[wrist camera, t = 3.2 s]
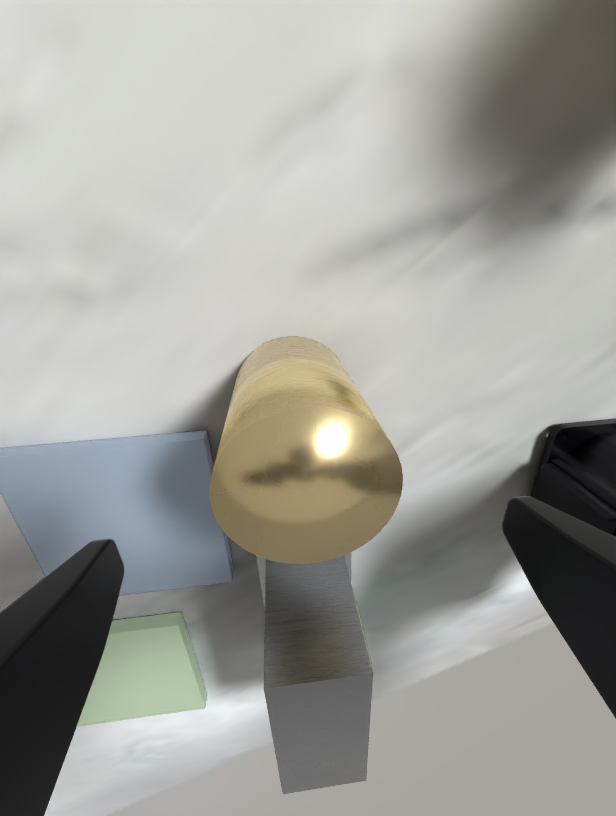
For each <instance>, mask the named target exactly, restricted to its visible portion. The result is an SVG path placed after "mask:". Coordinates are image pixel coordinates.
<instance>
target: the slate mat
mask: <svg viewBox="0 0 616 816" xmlns="http://www.w3.org/2000/svg"><path fill="white" fill-rule="evenodd" d="M213 468H214V465H213V460H212V455H211V450H210V445H209V440H208V435H207V430H204V431H193V432H181V433H170V434H158V435H146V436H135V437H123V438H112V439H100V440H89V441H77V442H66V443H54V444H42V445H31V446H19V447H8V448H0V493H1V495H2V497H3V498H4V500H5V502H6V504H7V506H8V508H9V510H10V511H11V513H12V515H13V517H14V519H15V521H16V523H17V524H18V526H19V528H20V530H21V532H22V534H23V536H24V537H25V539H26V541H27V543H28V545H29V547H30V549H31V551H32V552H33V554H34V556H35V558H36V560H37V562H38V564H39V565H40V567H41V569H42V571H43V573H44V575H45V577H46V576H47V575H49V574H50V573H51V572H52V571H54V570H55V569H56V568H57V567H59V566H60V565H61V564H63V563H64V562H65V561H66V560H68V559H69V558H70V557H71V556H73V555H74V554H75V553H76V552H78V551H79V550H80V549H82V548H83V547H84V546H85V545H87V544H88V543H89V542H91V541H94V540H101V539H112V540H114V541H115V543H116V546H117V548H118V551H119V553H120V556H121V559H122V561H123V564H124V577H123V581H122V585H121V589H120V593H119V596H120V595H128V594H136V593H145V592H153V591H162V590H170V589H179V588H187V587H196V586H204V585H213V584H221V583H229V582H233V573H234V568H233V562H232V557H231V552H230V547H229V542H228V537H227V535H226V534H225V533H224V531H223V530H222V529H221V527H220V526H219V524H218V522H217V520H216V518H215V516H214V514H213V510H212V507H211V502H210V481H211V477H212V472H213Z"/></svg>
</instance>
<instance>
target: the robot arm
mask: <svg viewBox="0 0 616 816" xmlns="http://www.w3.org/2000/svg"><path fill="white" fill-rule="evenodd" d="M561 434H562V435H561ZM560 435H561V436H560ZM502 529H503V532H504V535H505V537H506V539H507V541H508V543H509V545H510V546H511V548H512V550H513V552H514V554H515V556H516V558H517V560H518V562H519V564H520V565H521V567H522V569H523V571H524V573H525V575H526V577H527V579H528V581H529V583H530V584H531V586H532V588H533V590H534V592H535V593H536V595H537V597H538V599H539V600H540V602H541V604H542V605H543V607H544V608H545V610H546V611H547V613H548V615H549V616H550V618H551V619H552V621H553V622H554V624H555V625H556V627H557V628H558V630H559V631H560V633H561V635H562V636H563V638H564V639H565V641H566V642H567V644H568V645H569V647H570V648H571V650H572V651H573V653H574V655H575V656H576V658H577V659H578V661H579V662H580V664H581V666H582V667H583V669H584V670H585V672H586V673H587V675H588V676H589V678H590V679H591V681H592V682H593V684H594V686H595V687H596V689H597V690H598V691H599V693H600V695H601V696H602V698H603V699H604V701H605V703H606V704H607V706H608V707H609V709H610V710H611V712H612V713H613V715H614V716H615V718H616V419H608V420H597V421H586V422H575V423H564V424H558V425H556V426H554V427H553V428H552V429H551V431H550V433H549V435H548V439H547V442H546V446H545V449H544V452H543V456H542V459H541V463H540V466H539V469H538V473H537V476H536V480H535V483H534V486H533V490H532V493H531V497H530V496H519V497H512V498H510V499H509V501H508V503H507V507H506V511H505V514H504V518H503V522H502ZM123 577H124V564H123V561H122V559H121V556H120V553H119V551H118V548H117V546H116V543H115V541H114V540H112V539H101V540H94V541H91V542H89V543H88V544H87V545H85V546H84V547H83V548H82V549H80V550H79V551H78V552H76V553H75V554H74V555H73V556H71V557H70V558H69V559H68V560H66V561H65V562H64V563H63V564H61V565H60V566H59V567H57V568H56V569H55V570H54V571H52V572H51V573H50V574H49V575H47V576H46V577H45V578H44V579H42V580H41V581H40V582H39V583H37V584H36V585H35V586H33V587H32V588H31V589H30V590H28V591H27V592H26V593H25V594H23V595H22V596H21V597H20V598H18V599H17V600H16V601H14V602H13V603H12V604H11V605H9V606H8V607H7V608H6V609H4V610H3V611H2V612H1V613H0V816H44V814H45V811H46V809H47V806H48V803H49V801H50V798H51V795H52V792H53V790H54V787H55V784H56V781H57V779H58V776H59V773H60V770H61V768H62V765H63V762H64V760H65V757H66V754H67V751H68V749H69V746H70V743H71V740H72V738H73V735H74V732H75V730H76V727H77V724H78V721H79V719H80V716H81V713H82V710H83V708H84V705H85V702H86V700H87V697H88V694H89V691H90V689H91V686H92V683H93V680H94V678H95V675H96V672H97V670H98V667H99V664H100V661H101V658H102V655H103V652H104V649H105V645H106V642H107V639H108V635H109V631H110V627H111V623H112V619H113V616H114V612H115V608H116V604H117V600H118V596H119V593H120V589H121V585H122V581H123Z"/></svg>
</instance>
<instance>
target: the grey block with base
mask: <svg viewBox="0 0 616 816" xmlns="http://www.w3.org/2000/svg"><path fill="white" fill-rule="evenodd" d="M256 558H257V565H258V571H259V578H260V585H261V591H262V598H263V604H264V611H265V649H264V692H265V697H266V703H267V709H268V714H269V720H270V725H271V731H272V736H273V742H274V747H275V753H276V758H277V764H278V769H279V775H280V781H281V786H282V791H283V794H287V793H293V792H298V791H305V790H311V789H317V788H323V787H329V786H335V785H341V784H348V783H354V782H360V781H366V774H367V757H368V742H369V726H370V709H371V695H372V679H373V672H372V664H371V660H370V655H369V651H368V647H367V643H366V639H365V635H364V631H363V627H362V623H361V619H360V615H359V610H358V606H357V602H356V598H355V594H354V590H353V588H352V585H351V552H350V553H348V554H345V555H343V556H340V557H337V558H335V559H331V560H327V561H323V562H317V563H308V564H288V563H280V562H275V561H271V560H267V559H264V558H261V557H258V556H256Z"/></svg>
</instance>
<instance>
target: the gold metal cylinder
mask: <svg viewBox="0 0 616 816" xmlns="http://www.w3.org/2000/svg"><path fill="white" fill-rule="evenodd" d="M402 481H403V475H402V468H401V464H400V460H399V457H398V455H397V453H396V451H395V449H394V447H393V445H392V444H391V442H390V440H389V439H388V437H387V436H386V434H385V432H384V431H383V429H382V428H381V426H380V424H379V423H378V421H377V419H376V418H375V416H374V415H373V413H372V411H371V410H370V408H369V407H368V405H367V403H366V402H365V400H364V398H363V397H362V395H361V394H360V392H359V390H358V389H357V387H356V386H355V384H354V382H353V381H352V379H351V378H350V376H349V374H348V373H347V371H346V369H345V368H344V366H343V365H342V363H341V361H340V360H339V359H338V357H337V356H336V355H335V354H334V353H333V352H332V351H331V350H330V349H329V348H327V347H326V346H325V345H323V344H321V343H319V342H317V341H315V340H312V339H309V338H305V337H298V336H288V337H281V338H277V339H273V340H271V341H268V342H266V343H264V344H262V345H261V346H259V347H258V348H256V349H255V350H254V351H253V352H252V353H251V354H250V355H249V356H248V357H247V358H246V360H245V361H244V362H243V364H242V366H241V368H240V370H239V372H238V375H237V379H236V382H235V386H234V390H233V394H232V398H231V402H230V406H229V410H228V414H227V418H226V421H225V425H224V429H223V433H222V437H221V441H220V445H219V449H218V453H217V456H216V460H215V464H214V468H213V472H212V477H211V481H210V502H211V507H212V510H213V514H214V516H215V518H216V520H217V522H218V524H219V526H220V527H221V529H222V530H223V531H224V533H225V534H226V535H227V536H228V537H229V538H230V539H231V540H232V541H233V542H235V543H236V544H237V545H238V546H240V547H241V548H243V549H244V550H246V551H248V552H249V553H252V554H254V555H256V556H258V557H261V558H264V559H267V560H271V561H275V562H280V563H288V564H308V563H317V562H323V561H327V560H331V559H335V558H337V557H340V556H343V555H345V554H348V553H350V552H352V551H354V550H356V549H357V548H359V547H361V546H362V545H364V544H365V543H367V542H368V541H369V540H371V539H372V538H373V537H374V536H375V535H377V534H378V533H379V532H380V531H381V530H382V528H383V527H384V526H385V525H386V524H387V523H388V521H389V520H390V518H391V517H392V515H393V513H394V511H395V509H396V507H397V505H398V502H399V499H400V496H401V491H402Z"/></svg>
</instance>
